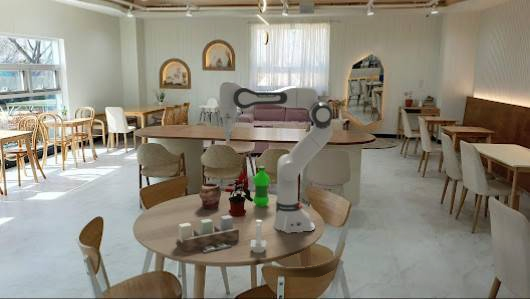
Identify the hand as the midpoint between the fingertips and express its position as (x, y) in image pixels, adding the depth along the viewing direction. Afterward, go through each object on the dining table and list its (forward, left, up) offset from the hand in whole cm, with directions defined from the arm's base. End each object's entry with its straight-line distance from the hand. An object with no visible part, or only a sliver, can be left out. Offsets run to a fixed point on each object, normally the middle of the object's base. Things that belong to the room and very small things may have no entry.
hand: (228, 139), depth 208 cm
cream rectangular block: (+19, +23, -46) cm, 55 cm away
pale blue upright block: (0, +12, -46) cm, 47 cm away
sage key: (+10, +18, -46) cm, 50 cm away
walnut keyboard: (+7, +22, -48) cm, 53 cm away
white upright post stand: (-16, +30, -48) cm, 59 cm away
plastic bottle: (-17, -34, -48) cm, 61 cm away
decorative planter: (+14, -32, -48) cm, 59 cm away
